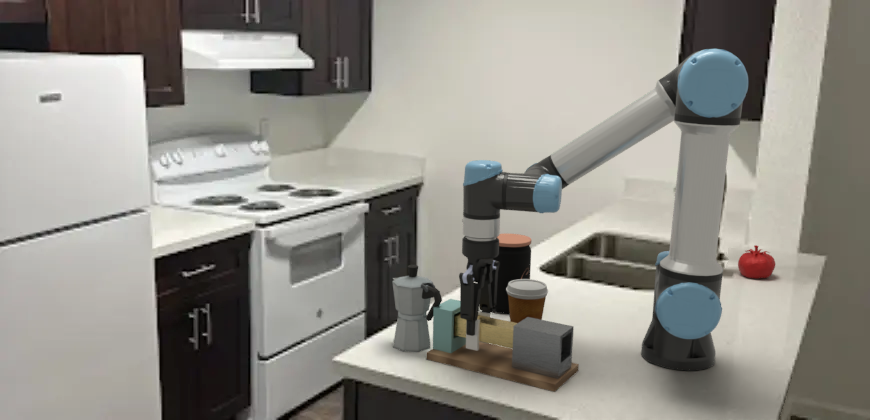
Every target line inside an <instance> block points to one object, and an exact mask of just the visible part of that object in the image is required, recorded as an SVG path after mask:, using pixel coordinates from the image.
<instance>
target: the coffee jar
mask: <svg viewBox="0 0 870 420" xmlns="http://www.w3.org/2000/svg"><path fill="white" fill-rule="evenodd" d="M497 238H498V239H499V254H498V256H497V257H495V258H493V260H494V261H499V262H500V265H499V270H498V281H497V301H496V306H495V307H492V308H494V309H496V310H495V313H498V314H504V315H510V311H509V300H508V294H507V291H506V288H507V287H508V283H509V282H510V281H512V280H517V279H531V262H532V248H531V246H530V245H531V244H532V238H531V237H530V236H528V235H523V234H519V233H500V235H499V236H498V237H497Z"/></svg>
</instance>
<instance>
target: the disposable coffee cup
mask: <svg viewBox="0 0 870 420" xmlns="http://www.w3.org/2000/svg"><path fill="white" fill-rule="evenodd" d="M506 291H507V294H508V300H509V311H510V314H509V321H510V322H514V323H519V322H521V321H522V320H524V319H525V318H527V317H531V318H535V319H540V320H543V315H544V310H545V304H546V298H547V295H548V294H549V289H548V287H547V284H546V283H545V282H544V281H541V280H537V279H536V280H535V279H531V278H530V279H517V280H512V281H510V282H509V283H508V287H507V288H506Z"/></svg>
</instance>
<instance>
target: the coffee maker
mask: <svg viewBox="0 0 870 420" xmlns="http://www.w3.org/2000/svg"><path fill="white" fill-rule="evenodd" d="M406 267H407V271H408V272H407V273H408V275H405V276H399V277H392V279H393V280H392V288H393V298H394V304H395V305H394V306H395V310H396V311H397V321H396V325H395V333H394V339H393V343H392V347H393V348H394V349H397V350H399V351H400V352H405V353H406V352H409V353H415V352H416V353H419V352H423V351H425V350H428V349H429V350H430V348H431V337H430V330H429V322H430V321H432V320H433V308H434V307H437V306H439V305H440V304H441V303H442V301H443V297H442V295H441V291H440V290H439V289H438V288H436V285H435V284H434V282H433V281H432V280H431V279H429V277H424V276H418V270H419V266H418V265H416V264H409V265H407V266H406ZM432 299H434V302H433V304H432V306H430V305H431V300H432Z"/></svg>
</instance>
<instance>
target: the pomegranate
mask: <svg viewBox="0 0 870 420" xmlns="http://www.w3.org/2000/svg"><path fill="white" fill-rule="evenodd" d="M753 247H754V250H753V249H752V248H750V249H748V250H747V249H746V250H745V252H744V253H742V254H741V256H740V257H739V259H738V262H737V268H738V271H739V272H740V274H741V275H742V276H743V277H745V278H748V279H756V280H757V279H768V278H769V277H771V276H772V274H773V272H774V270H775V268H776V261H775V258H774V256H772V255H770V252H769V251H767V250H765V251H763V249H759V245H756V244H755V245H754V246H753Z"/></svg>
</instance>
